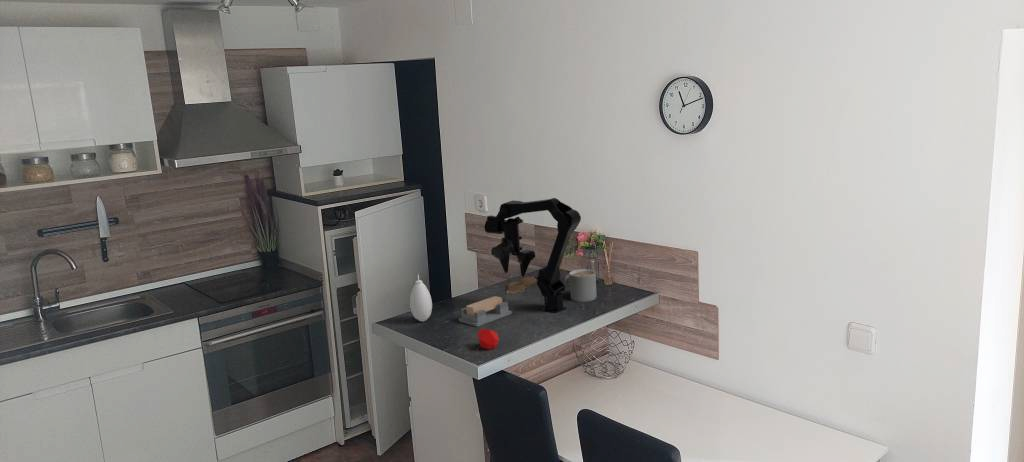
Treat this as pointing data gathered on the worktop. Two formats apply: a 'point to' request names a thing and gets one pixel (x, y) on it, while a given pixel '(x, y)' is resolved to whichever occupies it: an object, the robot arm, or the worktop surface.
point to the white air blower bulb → (420, 301)
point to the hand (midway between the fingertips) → (514, 274)
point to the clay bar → (483, 305)
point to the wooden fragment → (520, 285)
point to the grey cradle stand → (485, 315)
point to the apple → (488, 339)
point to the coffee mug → (582, 285)
